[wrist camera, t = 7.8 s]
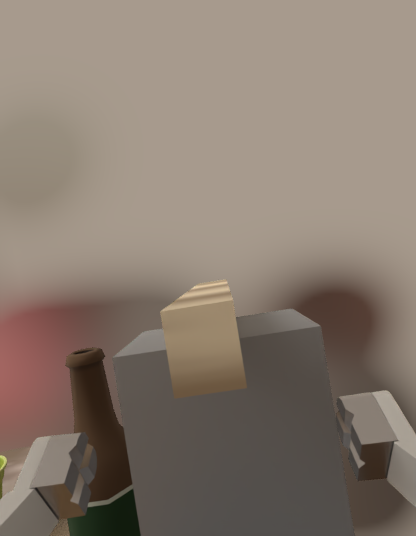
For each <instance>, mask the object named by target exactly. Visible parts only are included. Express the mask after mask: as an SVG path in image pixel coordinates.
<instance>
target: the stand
mask: <svg viewBox="0 0 416 536" xmlns="http://www.w3.org/2000/svg"><path fill="white" fill-rule="evenodd" d="M236 322H237V328H238V335H239V341H240V347H241V353H242V359H243V365H244V372H245V378H246V384H247V388H244V389H237V390H230V391H223V392H217V393H210V394H203V395H196V396H189V397H182V398H176V399H174V394H173V388H172V381H171V375H170V369H169V363H168V357H167V350H166V344H165V338H164V332H163V329H158V330H152V331H145V332H143V333H141V334H140V335H139V336H138V337H137V338H135V339H134V340H133V341H132V342H131V343H129V344H128V345H127V346H126V347H125V348H123V349H122V350H121V351H120V352H119V353H118V354H116V355H115V356H114V357H113V358H112V359H113V365H114V372H115V378H116V383H117V390H118V397H119V403H120V409H121V415H122V421H123V428H124V434H125V440H126V446H127V453H128V459H129V465H130V471H131V478H132V484H133V490H134V496H135V503H136V509H137V515H138V521H139V527H140V534H141V536H355V535H354V529H353V523H352V517H351V511H350V505H349V498H348V492H347V486H346V479H345V473H344V467H343V461H342V455H341V449H340V443H339V436H338V430H337V424H336V418H335V412H334V406H333V399H332V393H331V387H330V381H329V374H328V369H327V362H326V356H325V350H324V344H323V338H322V332H321V326H320V325H318V324H317V323H315V322H313V321H312V320H310V319H308V318H306V317H305V316H303V315H302V314H300V313H298V312H297V311H295V310H293V309H287V310H280V311H274V312H267V313H261V314H255V315H248V316H242V317H236Z"/></svg>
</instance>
